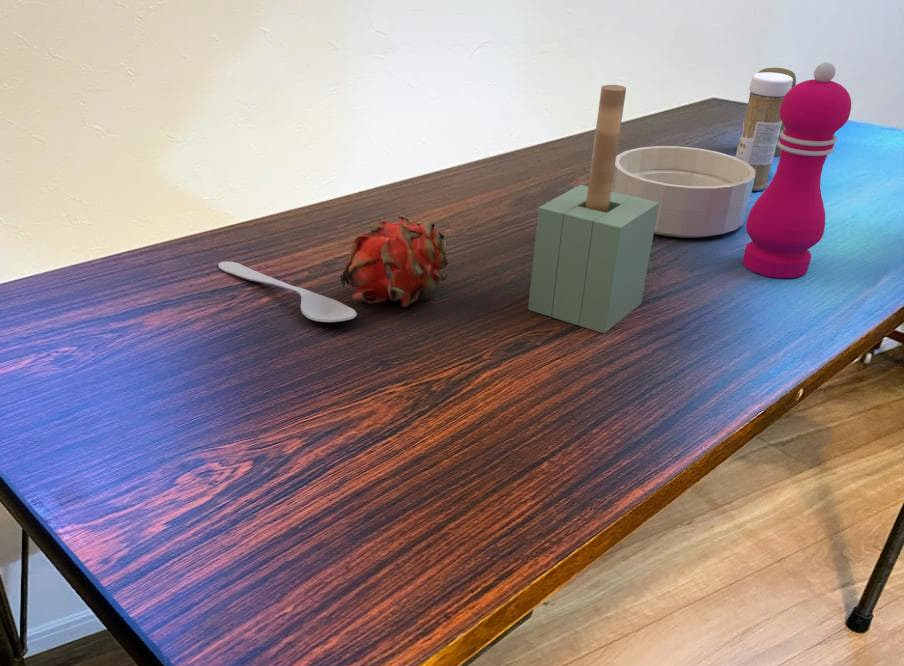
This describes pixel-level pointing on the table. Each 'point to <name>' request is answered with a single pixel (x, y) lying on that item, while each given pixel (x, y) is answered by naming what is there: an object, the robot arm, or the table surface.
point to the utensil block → (591, 258)
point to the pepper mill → (797, 179)
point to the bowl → (687, 188)
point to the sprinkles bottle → (762, 123)
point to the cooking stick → (605, 147)
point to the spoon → (310, 302)
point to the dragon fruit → (396, 262)
